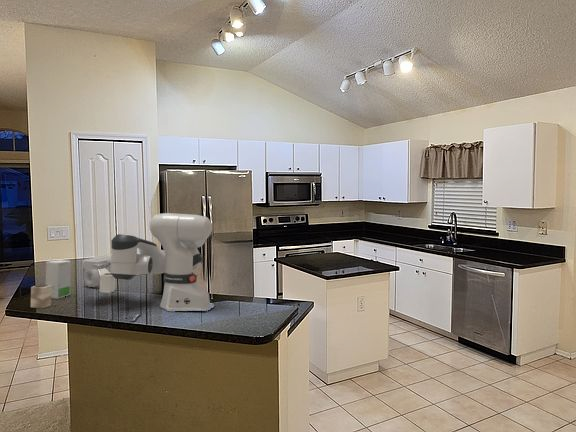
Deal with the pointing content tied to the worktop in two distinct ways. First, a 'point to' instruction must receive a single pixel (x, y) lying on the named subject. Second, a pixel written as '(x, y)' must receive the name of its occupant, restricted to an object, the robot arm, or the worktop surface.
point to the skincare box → (58, 277)
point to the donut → (95, 277)
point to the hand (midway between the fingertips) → (85, 260)
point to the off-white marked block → (107, 283)
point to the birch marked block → (41, 296)
